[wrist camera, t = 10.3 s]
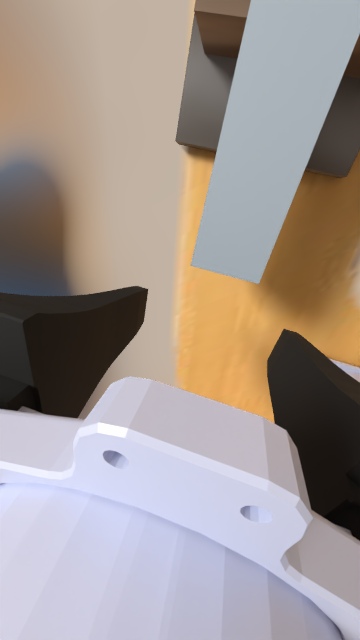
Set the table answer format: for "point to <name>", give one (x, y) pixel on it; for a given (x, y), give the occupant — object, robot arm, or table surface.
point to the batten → (271, 127)
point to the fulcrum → (216, 80)
